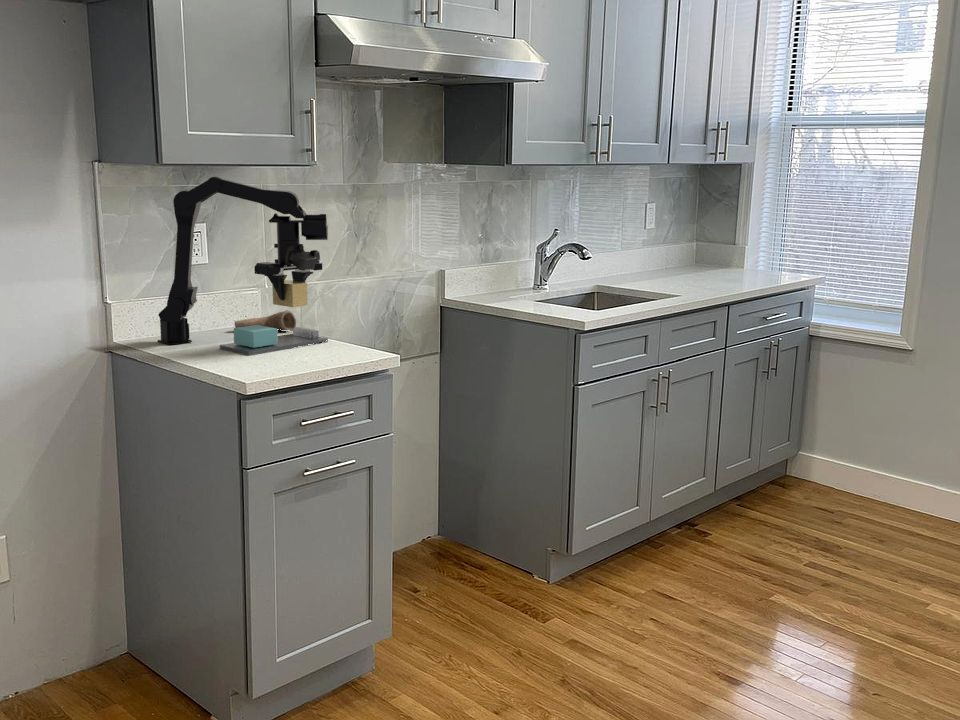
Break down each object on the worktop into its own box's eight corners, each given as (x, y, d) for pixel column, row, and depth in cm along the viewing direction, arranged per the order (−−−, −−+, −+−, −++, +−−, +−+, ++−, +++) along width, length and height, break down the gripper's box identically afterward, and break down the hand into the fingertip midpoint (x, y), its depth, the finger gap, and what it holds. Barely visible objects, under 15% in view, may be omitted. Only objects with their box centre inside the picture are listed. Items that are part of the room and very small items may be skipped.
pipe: (230, 314, 268) (241, 313, 259) (285, 310, 277) (298, 309, 268) (232, 337, 268) (243, 337, 260) (287, 332, 277) (300, 332, 269)
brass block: (273, 304, 251) (272, 281, 250) (287, 302, 255) (287, 280, 254) (292, 307, 246) (292, 284, 245) (307, 305, 250) (306, 282, 249)
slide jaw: (253, 347, 238) (253, 332, 237) (234, 343, 243) (233, 328, 242) (278, 343, 244) (278, 328, 243) (259, 339, 249) (258, 324, 248)
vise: (249, 355, 235) (248, 343, 234) (219, 348, 242) (219, 337, 242) (327, 341, 255) (327, 330, 254) (298, 336, 262) (298, 325, 261)
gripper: (280, 244, 235) (282, 306, 238) (335, 239, 249) (337, 298, 252) (252, 241, 242) (254, 301, 245) (307, 237, 256) (309, 294, 259)
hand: (290, 299), depth 250 cm, fingers closed on brass block, 5 cm apart
